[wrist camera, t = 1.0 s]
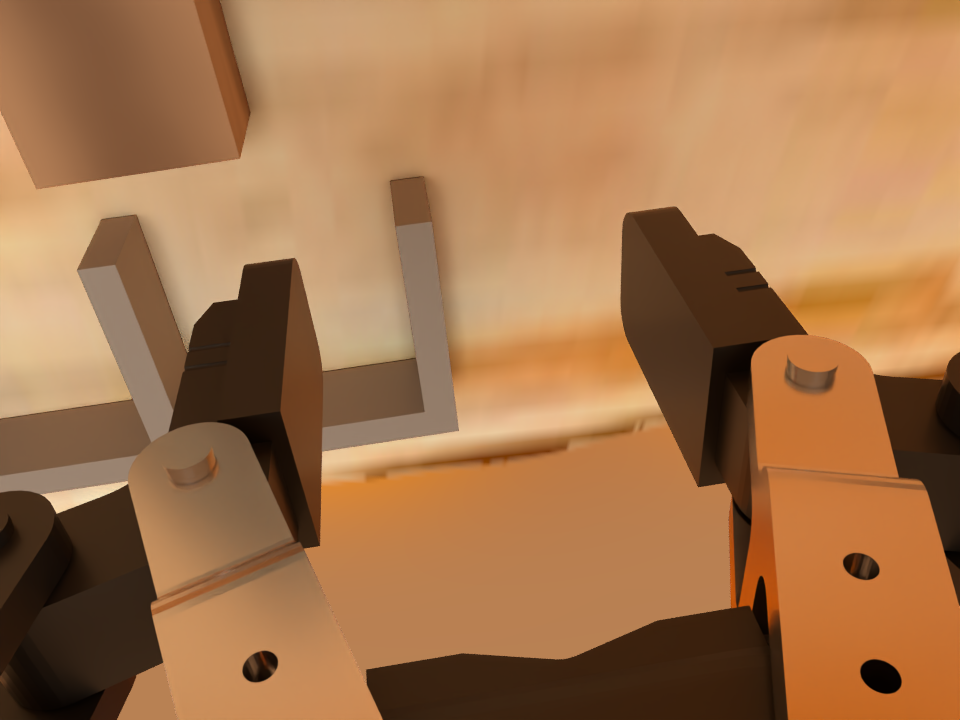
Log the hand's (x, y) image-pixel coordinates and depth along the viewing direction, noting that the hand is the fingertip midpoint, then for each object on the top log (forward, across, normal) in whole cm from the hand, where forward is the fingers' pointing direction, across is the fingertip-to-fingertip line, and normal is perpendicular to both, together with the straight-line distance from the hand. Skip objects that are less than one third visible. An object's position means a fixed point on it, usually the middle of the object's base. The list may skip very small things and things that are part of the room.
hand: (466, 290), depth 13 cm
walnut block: (+18, +8, 0) cm, 20 cm away
